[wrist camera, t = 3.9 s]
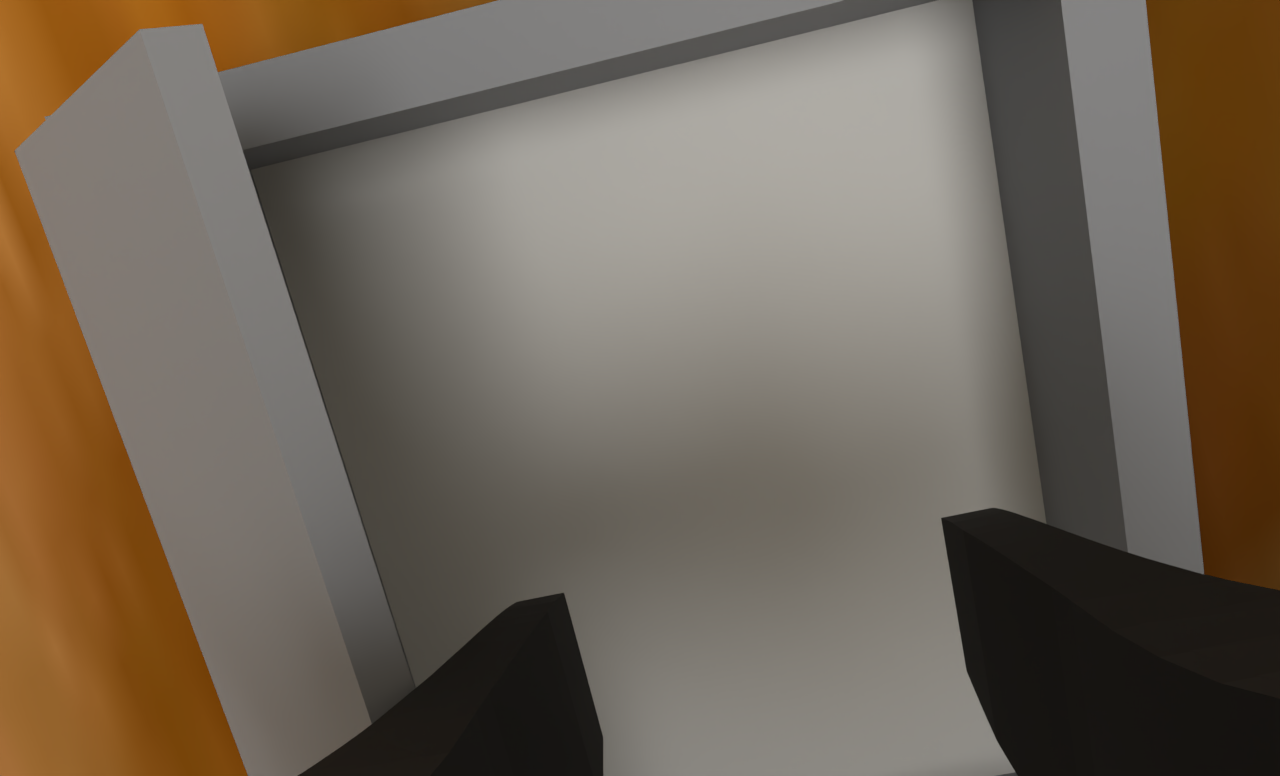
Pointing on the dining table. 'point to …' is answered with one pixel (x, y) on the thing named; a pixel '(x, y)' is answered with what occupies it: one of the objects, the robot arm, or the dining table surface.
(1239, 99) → the dining table surface
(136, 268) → the carton flap
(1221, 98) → the dining table surface
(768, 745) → the gray open box
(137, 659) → the dining table surface
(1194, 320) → the dining table surface
